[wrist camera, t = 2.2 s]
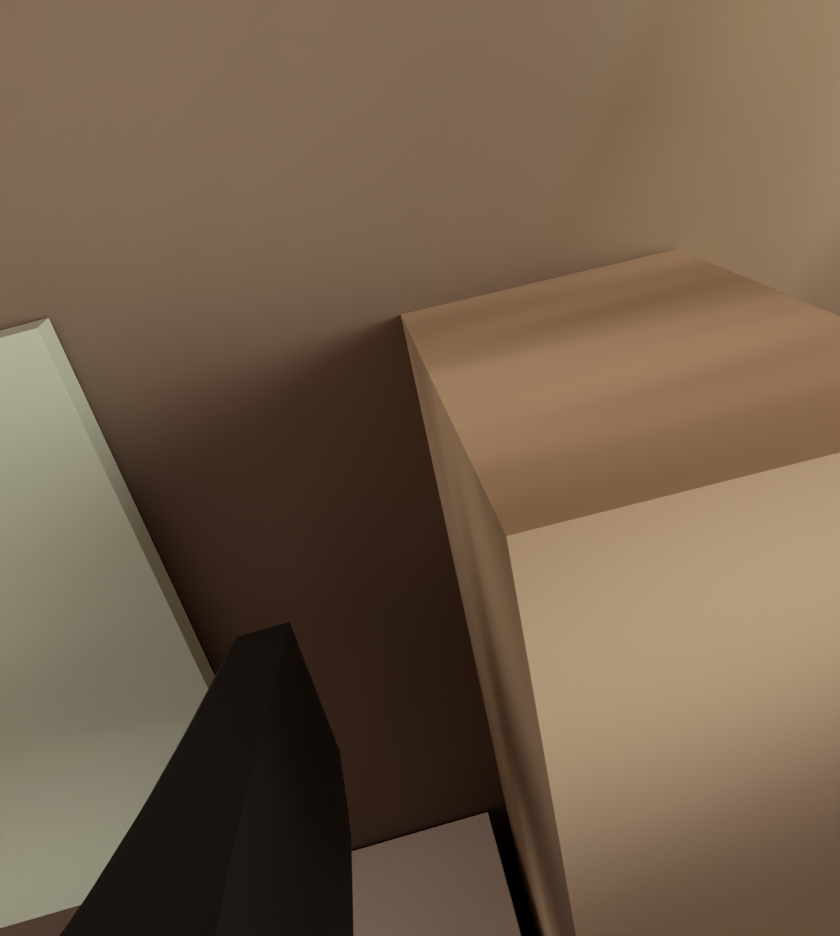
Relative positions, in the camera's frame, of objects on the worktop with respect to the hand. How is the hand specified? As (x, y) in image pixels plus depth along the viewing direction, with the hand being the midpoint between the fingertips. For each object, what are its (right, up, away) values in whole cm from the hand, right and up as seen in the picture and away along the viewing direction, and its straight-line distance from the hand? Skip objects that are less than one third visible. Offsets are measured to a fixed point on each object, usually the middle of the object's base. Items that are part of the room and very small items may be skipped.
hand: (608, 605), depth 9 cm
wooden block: (0, -1, +2) cm, 2 cm away
